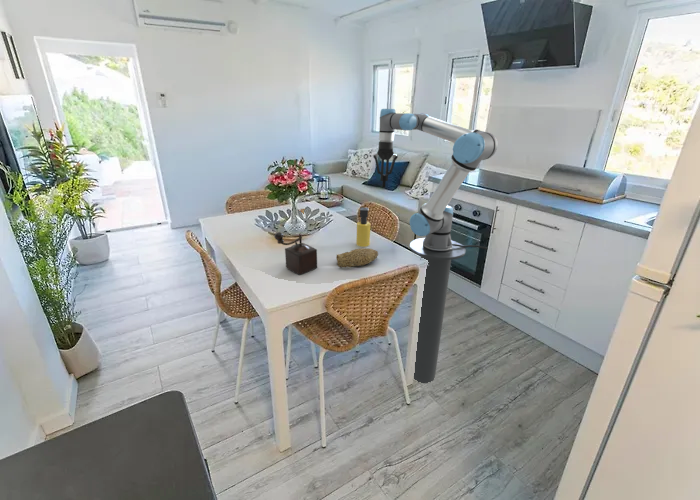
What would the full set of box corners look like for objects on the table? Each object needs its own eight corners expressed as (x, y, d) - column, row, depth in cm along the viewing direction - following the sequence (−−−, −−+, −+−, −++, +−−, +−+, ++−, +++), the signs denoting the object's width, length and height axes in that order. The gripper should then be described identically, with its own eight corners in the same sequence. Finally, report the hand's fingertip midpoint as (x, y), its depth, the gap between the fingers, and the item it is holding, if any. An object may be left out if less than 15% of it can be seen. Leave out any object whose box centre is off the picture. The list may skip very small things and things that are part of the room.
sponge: (339, 273, 156) (383, 263, 157) (336, 257, 154) (379, 246, 155) (337, 265, 168) (377, 256, 169) (334, 250, 166) (374, 240, 168)
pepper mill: (302, 260, 164) (301, 224, 157) (317, 267, 157) (317, 230, 150) (275, 270, 154) (271, 232, 147) (289, 279, 147) (287, 239, 140)
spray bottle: (369, 242, 189) (371, 207, 182) (369, 247, 182) (371, 211, 174) (356, 241, 189) (357, 206, 182) (356, 247, 182) (357, 210, 175)
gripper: (398, 140, 181) (395, 185, 190) (373, 140, 182) (371, 185, 191) (399, 142, 174) (396, 188, 183) (373, 141, 175) (371, 188, 184)
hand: (383, 187), depth 187 cm, fingers closed
